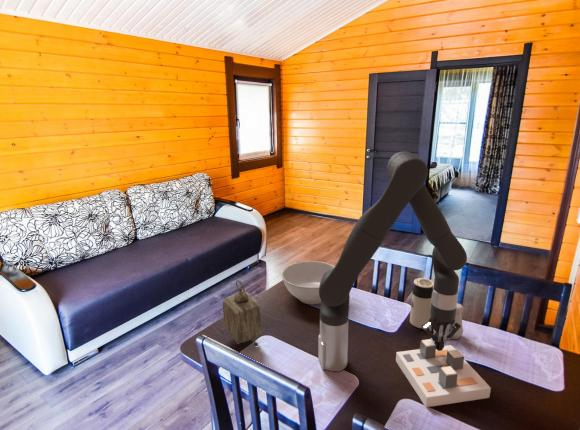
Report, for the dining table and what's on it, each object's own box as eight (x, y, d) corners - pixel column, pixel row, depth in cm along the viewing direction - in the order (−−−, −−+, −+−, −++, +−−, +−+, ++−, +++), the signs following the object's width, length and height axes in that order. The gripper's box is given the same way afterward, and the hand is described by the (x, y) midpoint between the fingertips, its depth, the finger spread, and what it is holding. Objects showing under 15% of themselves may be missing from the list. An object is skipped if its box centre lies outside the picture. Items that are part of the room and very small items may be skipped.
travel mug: (431, 320, 144) (435, 279, 139) (430, 330, 137) (434, 288, 132) (411, 315, 147) (414, 276, 142) (408, 326, 140) (411, 284, 135)
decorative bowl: (311, 278, 182) (311, 256, 178) (353, 297, 163) (354, 273, 159) (270, 297, 164) (269, 273, 161) (312, 321, 145) (312, 294, 142)
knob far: (425, 358, 116) (426, 346, 115) (419, 351, 120) (420, 339, 118) (435, 357, 117) (436, 345, 116) (429, 350, 120) (430, 338, 119)
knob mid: (452, 370, 111) (453, 357, 110) (445, 362, 114) (447, 350, 113) (462, 368, 112) (464, 356, 110) (456, 361, 115) (457, 349, 114)
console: (425, 407, 103) (426, 396, 102) (395, 360, 122) (396, 351, 120) (489, 397, 105) (490, 387, 104) (450, 353, 124) (451, 344, 123)
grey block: (445, 388, 104) (446, 375, 103) (438, 379, 107) (439, 366, 106) (456, 386, 105) (457, 373, 103) (449, 378, 108) (450, 365, 106)
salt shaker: (463, 341, 131) (468, 310, 127) (447, 339, 132) (450, 308, 128) (459, 332, 136) (463, 301, 132) (443, 330, 137) (447, 300, 133)
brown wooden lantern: (263, 348, 130) (259, 286, 123) (240, 357, 125) (235, 293, 118) (246, 328, 142) (242, 270, 134) (224, 336, 137) (219, 277, 130)
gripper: (430, 311, 109) (425, 359, 114) (470, 306, 111) (463, 354, 116) (418, 299, 116) (414, 344, 121) (456, 295, 118) (450, 339, 123)
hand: (438, 349), depth 119 cm, fingers closed
